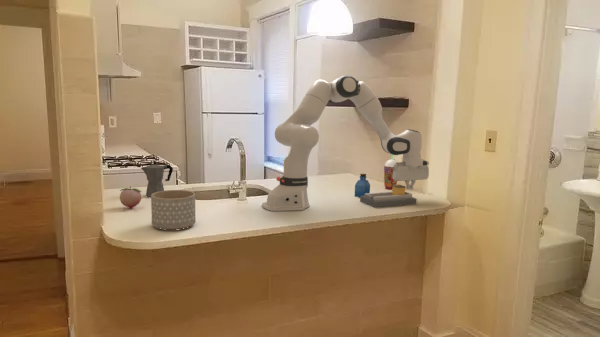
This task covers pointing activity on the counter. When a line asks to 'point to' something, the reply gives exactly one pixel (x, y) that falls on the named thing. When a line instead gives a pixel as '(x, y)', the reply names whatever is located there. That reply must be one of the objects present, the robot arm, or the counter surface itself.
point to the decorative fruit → (130, 197)
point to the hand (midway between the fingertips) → (409, 188)
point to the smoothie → (389, 173)
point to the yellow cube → (398, 190)
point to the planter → (173, 209)
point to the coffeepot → (155, 177)
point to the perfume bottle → (362, 186)
